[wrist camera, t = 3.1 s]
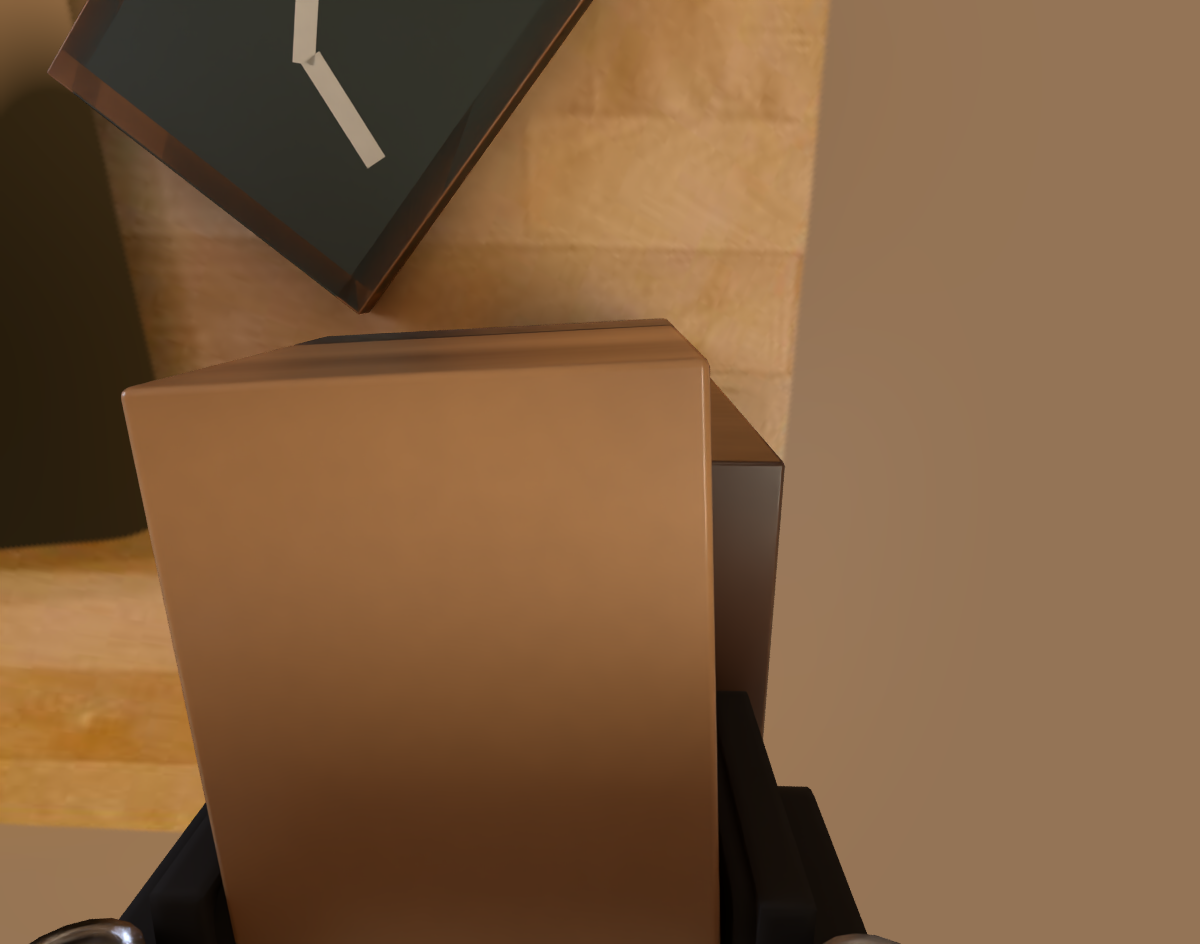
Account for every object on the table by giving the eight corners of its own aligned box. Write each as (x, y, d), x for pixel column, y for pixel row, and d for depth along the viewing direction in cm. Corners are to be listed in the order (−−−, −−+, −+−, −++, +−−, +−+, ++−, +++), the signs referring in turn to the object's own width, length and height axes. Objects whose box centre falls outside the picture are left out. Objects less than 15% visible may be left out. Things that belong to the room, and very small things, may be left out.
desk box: (479, 333, 28) (270, 453, 11) (676, 337, 28) (786, 462, 11) (485, 569, 30) (320, 981, 13) (666, 572, 30) (744, 990, 13)
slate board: (322, -359, 23) (306, -392, 22) (639, -65, 25) (641, -81, 24) (70, 80, 26) (45, 72, 25) (369, 313, 28) (358, 315, 27)
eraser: (323, 336, 10) (113, 388, 6) (668, 318, 10) (711, 357, 6) (404, 904, 13) (295, 1243, 8) (686, 895, 12) (726, 1234, 8)
